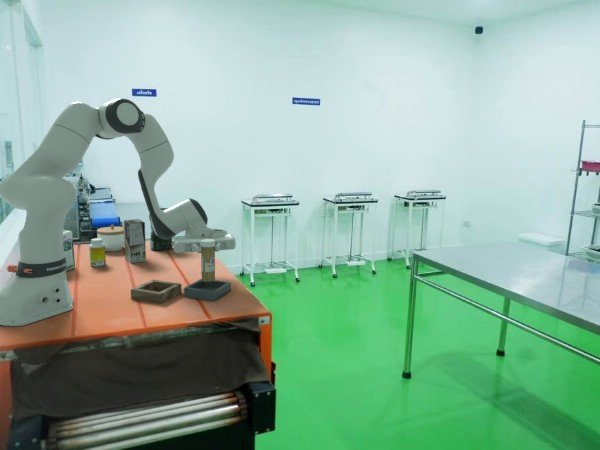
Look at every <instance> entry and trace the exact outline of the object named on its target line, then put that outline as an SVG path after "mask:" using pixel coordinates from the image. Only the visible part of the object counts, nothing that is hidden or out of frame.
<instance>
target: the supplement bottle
mask: <svg viewBox="0 0 600 450" xmlns="http://www.w3.org/2000/svg"><path fill="white" fill-rule="evenodd" d="M90 240H91V241H90V244H89V247H88V249H89V262H90V263H89V264H90V266H92V267H101V266H105V265H106V260H107V258H106V251H105V244H103V241H102V239H101V238H98V237H95V238H92V239H90Z"/></svg>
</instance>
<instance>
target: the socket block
mask: <svg viewBox="0 0 600 450" xmlns="http://www.w3.org/2000/svg"><path fill="white" fill-rule="evenodd" d="M181 293H182V283H178V282H171V281H166V280H165V281H164V280H159V279H158V280H157V279H151V280H149V281H146V282H144V283H142V284H140V285H138V286H135V287H133V288H131V289H130V299H132V300H136V301H142V302H143V301H144V302H149V303H153V304H154V303H156V304H162V303H163V304H164V303H165V302H167V301H168V300H170V299H172V298H174V297H176V296H178V295H179V294H181Z"/></svg>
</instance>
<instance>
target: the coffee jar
mask: <svg viewBox="0 0 600 450" xmlns="http://www.w3.org/2000/svg"><path fill="white" fill-rule="evenodd" d="M168 208H169V207H160V209H161V210H166V209H168ZM148 214H149V215H148V219H149V222H150V241H149V245H150V246H149V247H150V249H151V250H152V251H153V250H154V251H167V250H171V249H172V248H174V246H173V245H172V244H171V243H172V241H173V237H172V238H171V239H169V240H167V239H162V238H159V237H158V236H157V235H156V234H155V232H154V231H153V228H152V224H151V217H150V213H148Z"/></svg>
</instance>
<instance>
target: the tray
mask: <svg viewBox="0 0 600 450" xmlns="http://www.w3.org/2000/svg"><path fill="white" fill-rule="evenodd" d="M230 292H232V282H231V281H224V280H218V279H215V280H214V281H211V282H204V281H202V278H199V279H198V280H196V281H194V282H192V283H190V284H188V285H187V286H184V287H183V297H184V298H190V299H197V300H201V301H202V300H203V301H209V302H214V303H215V302H217V301H218V300H219V299H220V298H222V297H224V296H226V295H228V293H230Z"/></svg>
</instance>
